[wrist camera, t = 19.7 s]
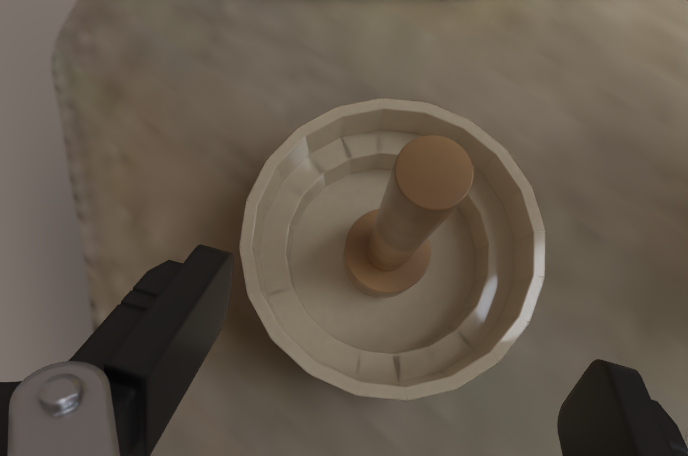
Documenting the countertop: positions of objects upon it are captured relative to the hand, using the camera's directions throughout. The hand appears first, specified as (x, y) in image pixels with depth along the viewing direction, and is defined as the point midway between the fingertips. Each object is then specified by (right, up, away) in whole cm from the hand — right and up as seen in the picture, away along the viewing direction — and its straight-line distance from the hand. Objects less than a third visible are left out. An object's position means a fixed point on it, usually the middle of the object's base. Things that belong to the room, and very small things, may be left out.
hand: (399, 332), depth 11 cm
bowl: (+1, 0, +18) cm, 18 cm away
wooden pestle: (+1, +1, +17) cm, 17 cm away
